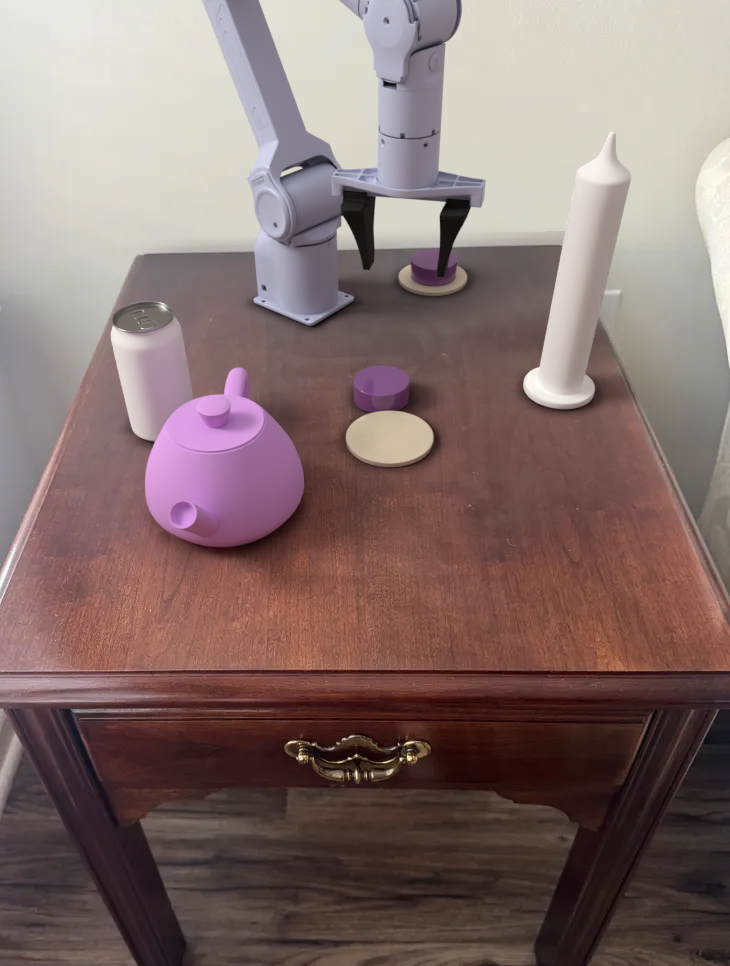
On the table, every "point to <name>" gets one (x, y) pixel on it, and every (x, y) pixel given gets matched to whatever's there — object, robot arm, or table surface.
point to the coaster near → (389, 438)
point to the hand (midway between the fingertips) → (404, 269)
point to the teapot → (223, 470)
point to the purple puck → (381, 388)
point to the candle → (581, 282)
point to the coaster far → (432, 290)
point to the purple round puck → (431, 268)
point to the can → (150, 364)
